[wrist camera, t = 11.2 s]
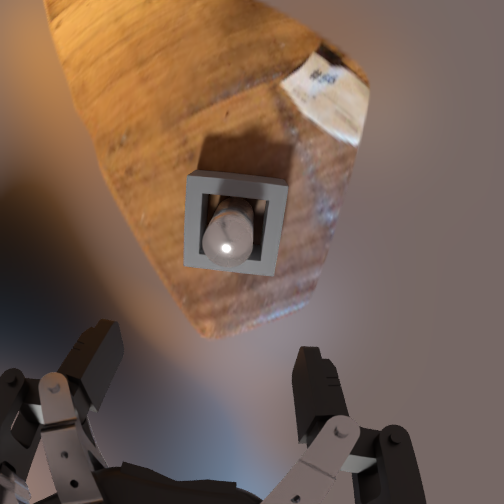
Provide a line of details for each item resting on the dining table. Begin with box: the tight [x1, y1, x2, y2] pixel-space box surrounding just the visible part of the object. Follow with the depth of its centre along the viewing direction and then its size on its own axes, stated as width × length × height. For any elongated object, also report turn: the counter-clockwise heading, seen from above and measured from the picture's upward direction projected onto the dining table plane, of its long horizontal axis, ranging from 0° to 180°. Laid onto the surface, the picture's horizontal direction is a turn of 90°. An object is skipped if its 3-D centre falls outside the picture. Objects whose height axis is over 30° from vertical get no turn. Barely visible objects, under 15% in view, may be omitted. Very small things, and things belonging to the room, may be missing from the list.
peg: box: [202, 197, 254, 267], centre depth 25 cm, size 4×4×8 cm
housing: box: [184, 170, 289, 276], centre depth 27 cm, size 9×9×4 cm
